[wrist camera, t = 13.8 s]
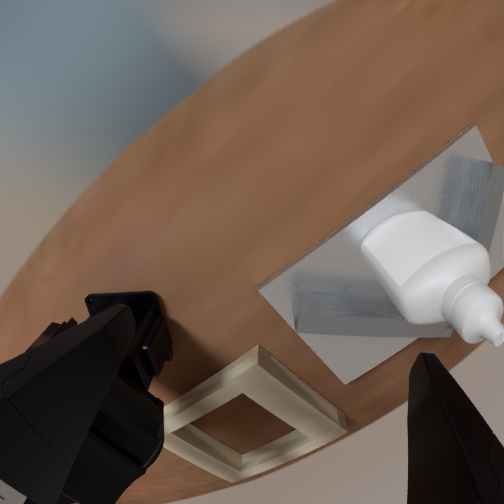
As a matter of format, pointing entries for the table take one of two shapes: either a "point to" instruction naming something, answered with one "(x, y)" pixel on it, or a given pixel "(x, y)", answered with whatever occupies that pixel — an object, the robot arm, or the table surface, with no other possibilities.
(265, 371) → the beige square frame
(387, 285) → the eye dropper bottle
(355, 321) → the silver tray
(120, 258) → the table surface
